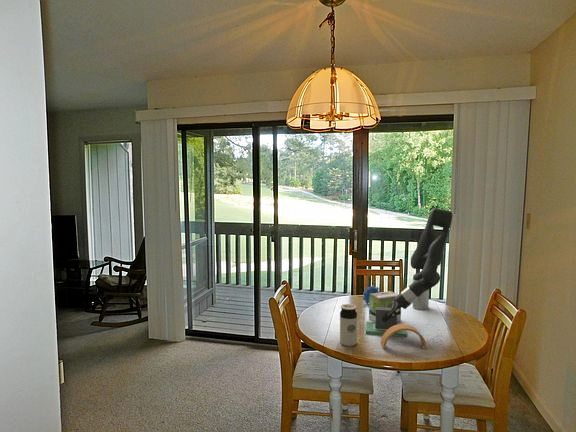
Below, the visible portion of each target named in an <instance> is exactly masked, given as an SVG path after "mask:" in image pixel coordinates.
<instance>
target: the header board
mask: <svg viewBox="0 0 576 432" xmlns="http://www.w3.org/2000/svg"><path fill="white" fill-rule="evenodd" d="M365 324H366V325H365V335H375V336H376V335H377V336H383V335H384V333H385V332H386V331H387V330H388V329H376V327H375V322H374V321H366V322H365ZM398 324H399V323H397V325H398ZM390 337H403V338H408V331H407V330H402V331H398V332H396V333H394V334H393V335H391V336H390Z"/></svg>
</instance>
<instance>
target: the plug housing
mask: <svg viewBox="0 0 576 432" xmlns="http://www.w3.org/2000/svg"><path fill="white" fill-rule="evenodd" d="M390 309H391V307H376V322H375V327H376V329H389V328H390V327H392V326H394V325H397V324H398V323H397V322H398V321H397V315H396V316H395V317H393V318H390V319H389V320H387V321H386V322H384V321H383V320H382V318H384V317H385V316H386V315H387V314H388V313H389V310H390ZM391 315H392V314H391Z"/></svg>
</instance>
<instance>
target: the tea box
mask: <svg viewBox="0 0 576 432" xmlns="http://www.w3.org/2000/svg"><path fill="white" fill-rule="evenodd" d="M379 292H380V293H372V294H370V297H369V303H368V319H369V320H370V321H371V322H376V307H388V306H389V305H390V304H391V303H392V302H393V301H394V300H395V297H396V296H397V295H398V294H399V293H396V292H394V291H392V290H388V291H379ZM401 318H402V307H401V308H400V312H399V313H398V314H397V322H400V321H401Z"/></svg>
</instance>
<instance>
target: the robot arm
mask: <svg viewBox="0 0 576 432" xmlns="http://www.w3.org/2000/svg"><path fill="white" fill-rule="evenodd" d="M452 221H453V212H452V211H451V210H448V209H442V208H438V207H437V208H436V207H434V208H432V209H431V210H430V212H429V215H428V218H427V221H426V225H425V226H424V229H423V231H422V233H421V236H420V239H419V241H418V244H417V246H416V249H415V250H414V252H413V253H412V255H411V257H410V267H411V268H412V269H414V270H421V271H418V272H416V273H414V274H413V276H412V280H413V281H412V282H411V284H409V285H408V286H407V287H405V288H403V290H402V291H401V292H400V293H397V294H398V295H397V296H396V297H395V300H394V301H393V302H392V303H391V304H390V305H389V306H388V307H391V309H390V310H389V313H388V314H387V315H386V316H385V317H384V318H382V320H383V321H384V322H386V321H387V320H389V319H390V318H393V317H395V316H396V315H397V314H398V313H399V312H400V308H401V309H403V310H406V309H407V308H409V307H410V306H411V305H412V308H413V309H416V310H419V311H420V310H422V311H423V310H428V309H429V302H430V301H429V300H430V289H432V288H433V287H435V286H436V285H439V282H440V281H441V275H440V273H439V272H438V267H439V266H440V265H441V264H442V261H443V253H444V249H445V245H446V242H447V239H448V236H449V233H450V230H451V226H452ZM434 226H435V227H438V228H439V227H440V228H442V230H441V232H440V233H439V235H438V233H437V232H436V229H435V228H434ZM391 314H392V315H391Z"/></svg>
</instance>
